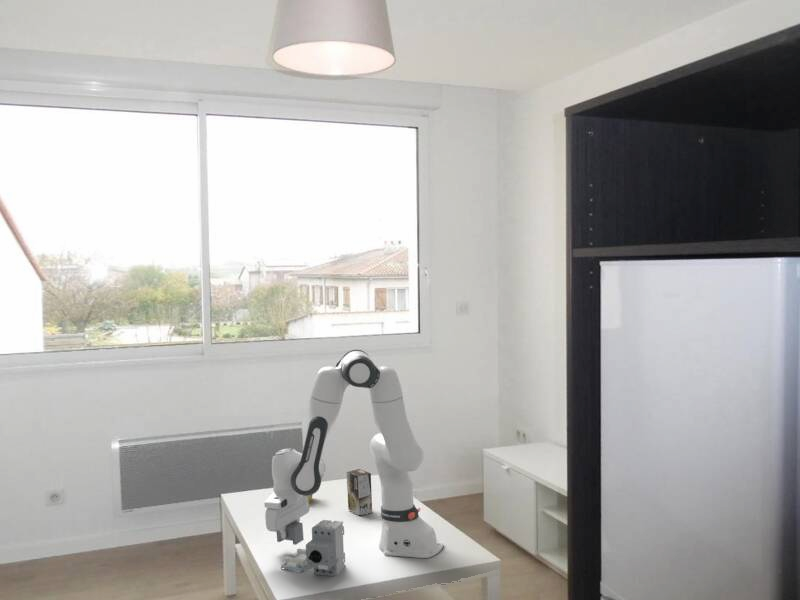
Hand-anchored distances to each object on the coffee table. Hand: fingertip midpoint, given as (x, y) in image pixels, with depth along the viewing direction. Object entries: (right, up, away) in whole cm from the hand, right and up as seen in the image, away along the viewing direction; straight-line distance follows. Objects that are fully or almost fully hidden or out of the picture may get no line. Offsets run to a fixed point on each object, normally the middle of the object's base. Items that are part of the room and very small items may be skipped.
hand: (290, 534), depth 255 cm
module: (0, -2, 0) cm, 2 cm away
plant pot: (-3, -4, +58) cm, 58 cm away
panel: (+6, -7, -8) cm, 12 cm away
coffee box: (+22, -4, +40) cm, 46 cm away
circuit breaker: (+14, -7, -18) cm, 24 cm away
